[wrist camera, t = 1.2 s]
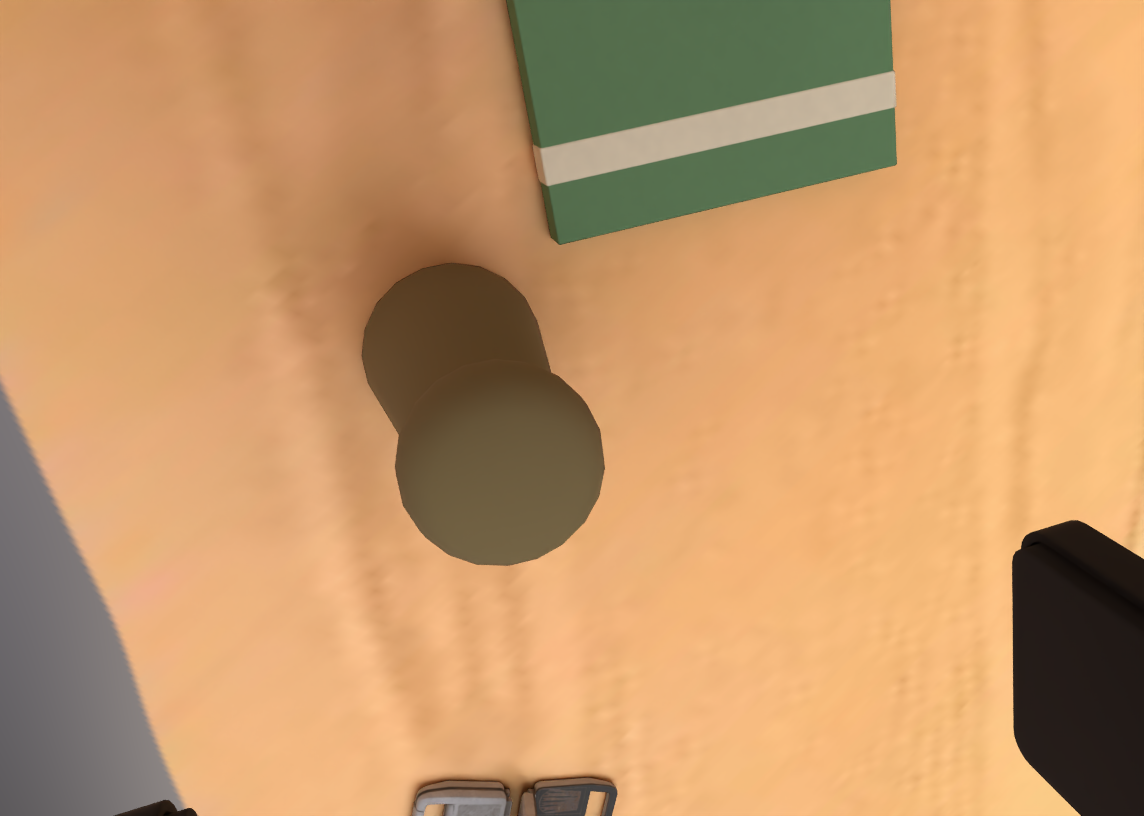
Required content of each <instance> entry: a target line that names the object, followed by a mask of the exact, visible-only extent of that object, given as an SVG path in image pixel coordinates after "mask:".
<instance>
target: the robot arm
mask: <svg viewBox="0 0 1144 816" xmlns="http://www.w3.org/2000/svg"><path fill="white" fill-rule="evenodd" d="M1012 593H1013V714H1014V736H1015V739H1016V742H1017V745H1018V747H1019V749H1020V751H1021V753H1022V755H1023V756H1024V758H1025V759H1026V760H1027V762H1028V763H1029V764H1030V765H1031V766H1032V767H1033V768H1034V769H1035V770H1036V771H1037V772H1038V773H1039V774H1040V775H1041V776H1042V777H1043V778H1044V779H1045V780H1046V781H1047V782H1048V783H1049V784H1050V785H1051V786H1052V787H1053V788H1054V789H1055V790H1056V791H1057V792H1058V793H1059V794H1060V795H1061V796H1062V797H1063V798H1064V799H1065V800H1066V801H1067V802H1068V803H1069V804H1070V805H1071V806H1072V807H1073V808H1074V809H1075V810H1076V811H1077V812H1078V813H1079V814H1080V815H1081V816H1144V559H1143V558H1141V557H1139V556H1138V555H1136V554H1134V553H1133V552H1131V551H1130V550H1128V549H1126V548H1125V547H1123V546H1121V545H1120V544H1118V543H1116V542H1115V541H1113V540H1112V539H1110V538H1108V537H1107V536H1105V535H1103V534H1102V533H1100V532H1099V531H1097V530H1095V529H1094V528H1092V527H1090V526H1089V525H1087V524H1085V523H1083V522H1080V521H1078V520H1070V521H1067V522H1064V523H1061V524H1057V525H1054V526H1051V527H1048V528H1044V529H1041V530H1038V531H1035V532H1032V533H1029V534H1028V535H1026V536H1025V537H1024V539H1023V541H1022V545H1021V549H1020V550H1018V551H1016V552H1015V554H1014V556H1013V561H1012ZM115 816H197V814H196V812H195V811H194V810H193V809H192V808H187V809H184V810H181V811H177V809H176V808H175V806H174V804H172V803H171V802H170V801H169V800H163V801H160V802H157V803H153V804H150V805H147V806H144V807H140V808H137V809H134V810H131V811H128V812H125V813H121V814H118V815H115Z"/></svg>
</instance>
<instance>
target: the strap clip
mask: <svg viewBox="0 0 1144 816" xmlns="http://www.w3.org/2000/svg"><path fill="white" fill-rule="evenodd" d="M590 791H596V792H607V795H606V799H605V803H604V807H603V811H602V816H612V813H613V809H614V805H615V801H616V797H617V789H616V787H615V786H614V785H613V784H612V783H610V782H608V781H603V780H598V779H593V778H577V779H564V780H551V781H539V782H537V783H536V784H535V786H534V789H529V788H528V792H524V793H523V795H522V798H521V803H520V808H519V813H518V816H585V812H586V808H587V804H588V800H589V795H590ZM509 794H510V791H509V789H506V790H505V789H504V787H503V785H502V784H501V783H500V782H479V781H444V782H440V783H436V784H432V785H428V786H425V787H423V788H421V789H420V790H419V791H418V793H417V795H416V799H415V802H414V806H413V812H412V816H424V811H425V808H426V806H427V805H430V804H445V807H444V813H443V816H510V811H511V807H512V799H511V798H510V797H509Z"/></svg>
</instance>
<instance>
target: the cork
mask: <svg viewBox="0 0 1144 816" xmlns="http://www.w3.org/2000/svg"><path fill="white" fill-rule="evenodd" d="M362 360H363V364H364V368H365V373H366V377H367V381H368V384H369V386H370V387H371V389H372V391H373V392H374V394H375V396H376V397H377V399H378V401H379V402H380V404H381V406H382V407H383V409H384V411H385V412H386V414H387V416H388V417H389V419H390V421H391V422H392V424H393V426H394V427H395V429H396V431H397V432H398V434H399V438H398V446H397V454H396V462H395V470H396V477H397V481H398V485H399V490H400V494H401V498H402V503H403V506H404V508H405V509H406V511H407V512H408V514H409V515H410V517H411V518H412V520H413V521H414V523H415V524H416V526H417V527H418V529H419V530H420V532H421V533H422V534H423V535H424V536H425V537H426V538H427V539H428V540H430V541H431V542H432V543H434V544H435V545H436V546H438V547H439V548H440V549H442V550H443V551H444V552H445V553H447V554H448V555H450V556H453V557H456V558H459V559H462V560H465V561H468V562H471V563H474V564H477V565H504V566H508V565H514V564H518V563H522V562H526V561H530V560H534V559H538V558H539V557H541V556H543V555H545V554H547V553H548V552H550V551H552V550H554V549H556V548H557V547H559V546H561V545H562V544H563V543H564V542H565V541H566V540H567V539H568V538H569V537H570V536H571V535H572V534H573V533H574V532H575V531H576V530H577V529H578V528H579V527H580V526H581V525H582V524H583V523H584V522H585V521H586V519H587V517H588V516H589V514H590V512H591V510H592V508H593V507H594V505H595V503H596V501H597V499H598V497H599V494H600V489H601V484H602V480H603V475H604V470H605V465H604V456H603V448H602V441H601V433H600V429H599V427H598V425H597V423H596V421H595V419H594V417H593V415H592V414H591V412H590V410H589V408H588V406H587V404H586V403H585V401H584V400H583V399H582V398H581V396H580V395H579V394H578V393H576V392H575V391H574V390H573V389H572V388H571V387H570V386H569V385H568V384H567V383H566V382H565V381H563V380H562V379H561V378H560V377H559V376H557V375H555V374H553V373H551V370H550V366H549V363H548V359H547V355H546V352H545V348H544V344H543V341H542V337H541V333H540V330H539V326H538V322H537V320H536V318H535V316H534V314H533V312H532V310H531V308H530V306H529V304H528V303H527V301H526V299H525V297H524V296H523V295H522V294H521V293H520V292H519V291H518V290H517V289H515V288H514V287H513V286H512V285H511V284H510V283H509V282H508V281H507V280H506V279H505V278H503V277H501V276H499V275H496V274H494V273H492V272H490V271H488V270H486V269H484V268H481V267H478V266H470V265H462V264H454V263H449V264H444V265H439V266H434V267H428V268H423V269H421V270H419V271H417V272H415V273H413V274H412V275H410V276H408V277H406V278H404V279H402V280H401V281H399V282H397V283H396V284H395V285H394V286H393V287H392V288H391V289H390V290H389V291H388V292H387V293H386V294H385V295H384V296H383V298H382V299H381V300H380V301H379V302H378V303H377V304H376V306H375V308H374V311H373V313H372V315H371V317H370V319H369V321H368V323H367V325H366V328H365V332H364V341H363V350H362Z"/></svg>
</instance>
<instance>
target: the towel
mask: <svg viewBox="0 0 1144 816" xmlns="http://www.w3.org/2000/svg"><path fill="white" fill-rule="evenodd" d="M506 2H507V7H508V12H509V18H510V23H511V28H512V34H513V39H514V44H515V49H516V55H517V60H518V65H519V71H520V76H521V81H522V87H523V92H524V97H525V102H526V108H527V113H528V118H529V124H530V129H531V134H532V140H533V147H532V148H533V153H534V158H535V163H536V169H537V174H538V179H539V181H540V182H541V187H542V193H543V198H544V203H545V209H546V214H547V219H548V224H549V230H550V235H551V238H552V239H553V240H554V241H556V242H557V243H558V244H559V245H561V244H566V243H570V242H574V241H578V240H583V239H587V238H591V237H595V236H599V235H604V234H608V233H612V232H616V231H620V230H625V229H629V228H633V227H637V226H642V225H646V224H650V223H654V222H658V221H663V220H667V219H671V218H675V217H679V216H684V215H688V214H692V213H696V212H701V211H705V210H709V209H713V208H717V207H722V206H726V205H730V204H734V203H739V202H743V201H747V200H751V199H755V198H760V197H764V196H768V195H772V194H776V193H781V192H785V191H789V190H793V189H798V188H802V187H806V186H810V185H814V184H819V183H823V182H827V181H831V180H836V179H840V178H844V177H848V176H852V175H857V174H861V173H865V172H869V171H873V170H878V169H882V168H886V167H890V166H895V165H896V164H897V157H896V132H895V107H896V85H895V71H893V57H892V32H891V7H890V0H506Z"/></svg>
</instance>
